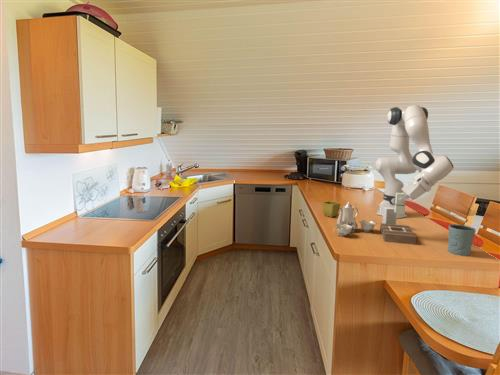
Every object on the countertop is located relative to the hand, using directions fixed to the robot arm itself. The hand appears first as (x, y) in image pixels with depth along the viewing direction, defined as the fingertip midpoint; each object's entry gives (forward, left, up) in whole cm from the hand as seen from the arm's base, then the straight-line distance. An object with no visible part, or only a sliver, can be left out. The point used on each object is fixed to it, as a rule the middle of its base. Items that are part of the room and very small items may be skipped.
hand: (398, 200), depth 161 cm
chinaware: (-1, -22, -20) cm, 30 cm away
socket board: (0, +1, -20) cm, 20 cm away
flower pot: (-32, -34, -20) cm, 51 cm away
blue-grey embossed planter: (+15, +25, -20) cm, 35 cm away
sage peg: (0, +1, -6) cm, 6 cm away
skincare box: (-15, -1, -20) cm, 25 cm away
